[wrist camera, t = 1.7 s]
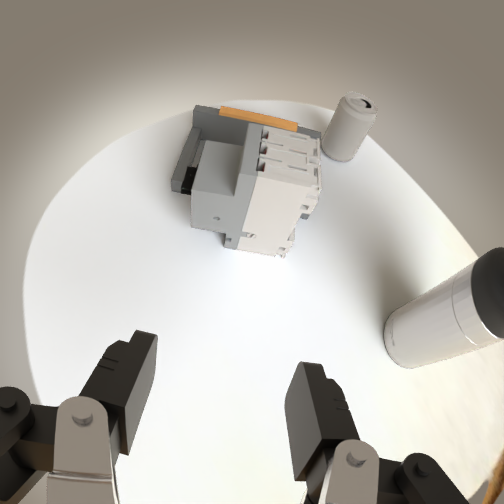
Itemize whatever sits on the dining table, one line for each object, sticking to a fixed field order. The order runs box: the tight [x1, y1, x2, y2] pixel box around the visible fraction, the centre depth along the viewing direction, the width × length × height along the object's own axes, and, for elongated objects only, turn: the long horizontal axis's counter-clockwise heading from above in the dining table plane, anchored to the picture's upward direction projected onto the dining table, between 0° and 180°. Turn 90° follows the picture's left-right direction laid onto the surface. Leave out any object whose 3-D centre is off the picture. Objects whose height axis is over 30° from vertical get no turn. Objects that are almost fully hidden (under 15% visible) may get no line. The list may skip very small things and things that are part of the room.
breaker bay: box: [171, 105, 321, 219], centre depth 45 cm, size 20×13×7 cm, turn 82°
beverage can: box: [321, 92, 377, 162], centre depth 49 cm, size 6×6×12 cm
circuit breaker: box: [181, 123, 322, 258], centre depth 37 cm, size 8×14×15 cm, turn 84°
